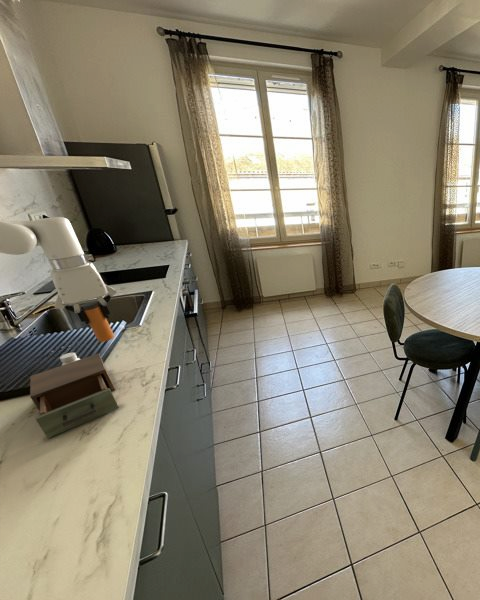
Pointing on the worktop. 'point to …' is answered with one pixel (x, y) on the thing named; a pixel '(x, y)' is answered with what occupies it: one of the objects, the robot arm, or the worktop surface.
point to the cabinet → (68, 377)
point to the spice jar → (97, 321)
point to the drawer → (74, 405)
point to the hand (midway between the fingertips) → (97, 319)
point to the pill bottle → (68, 358)
